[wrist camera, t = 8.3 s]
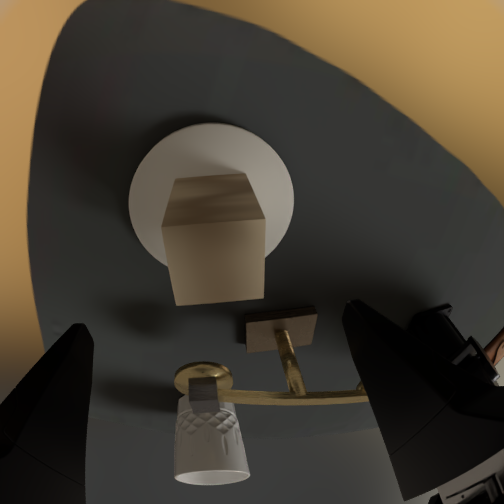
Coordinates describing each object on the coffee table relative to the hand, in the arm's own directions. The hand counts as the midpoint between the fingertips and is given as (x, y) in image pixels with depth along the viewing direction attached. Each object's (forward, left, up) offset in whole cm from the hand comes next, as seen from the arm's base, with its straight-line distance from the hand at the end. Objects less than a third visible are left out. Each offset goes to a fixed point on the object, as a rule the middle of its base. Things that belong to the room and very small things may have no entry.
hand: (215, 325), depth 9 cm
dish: (0, 0, -11) cm, 11 cm away
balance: (-5, +12, -11) cm, 17 cm away
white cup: (+3, +25, -11) cm, 28 cm away
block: (0, 0, -9) cm, 9 cm away
